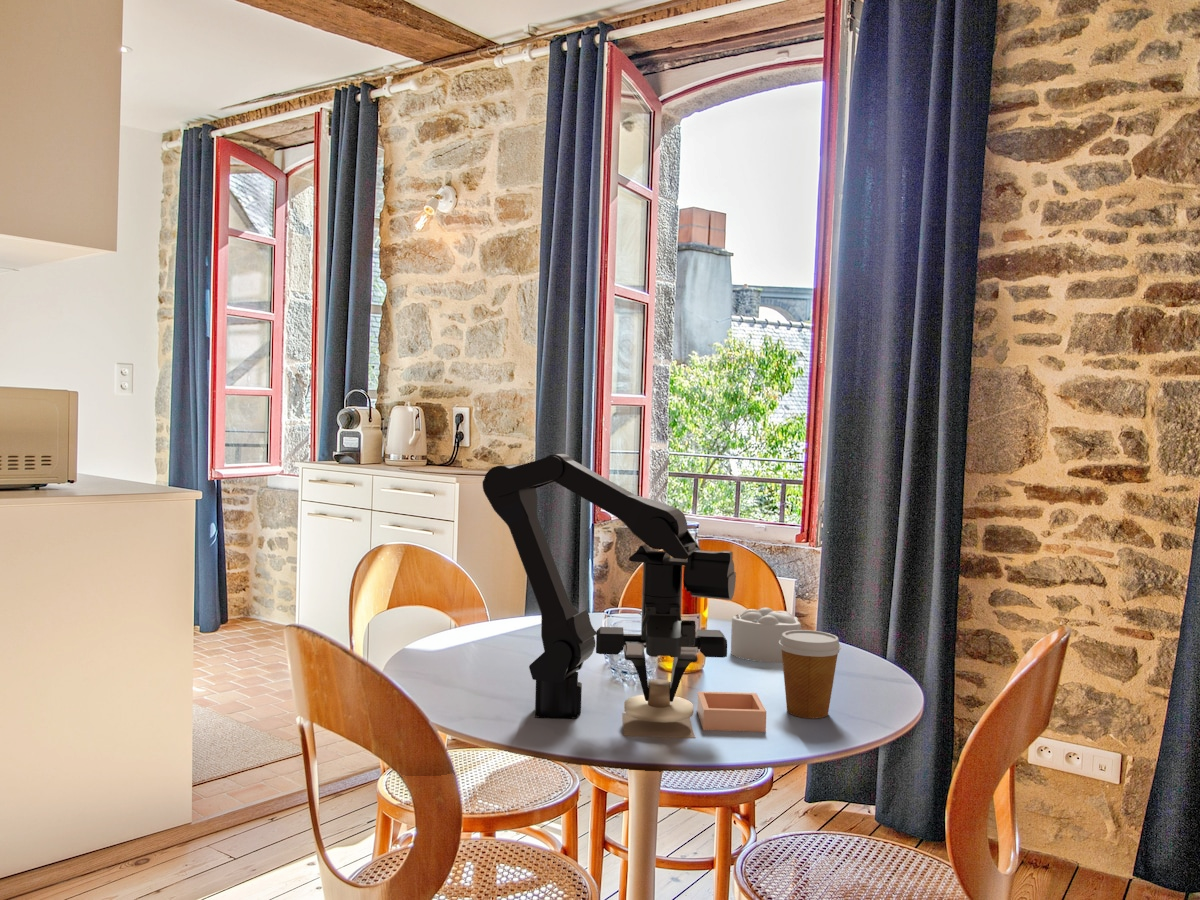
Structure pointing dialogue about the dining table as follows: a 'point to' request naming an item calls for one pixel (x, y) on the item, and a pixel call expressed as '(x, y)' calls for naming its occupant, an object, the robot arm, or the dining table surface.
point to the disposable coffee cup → (809, 671)
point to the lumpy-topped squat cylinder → (761, 634)
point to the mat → (657, 728)
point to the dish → (731, 711)
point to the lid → (658, 704)
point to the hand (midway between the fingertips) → (658, 700)
